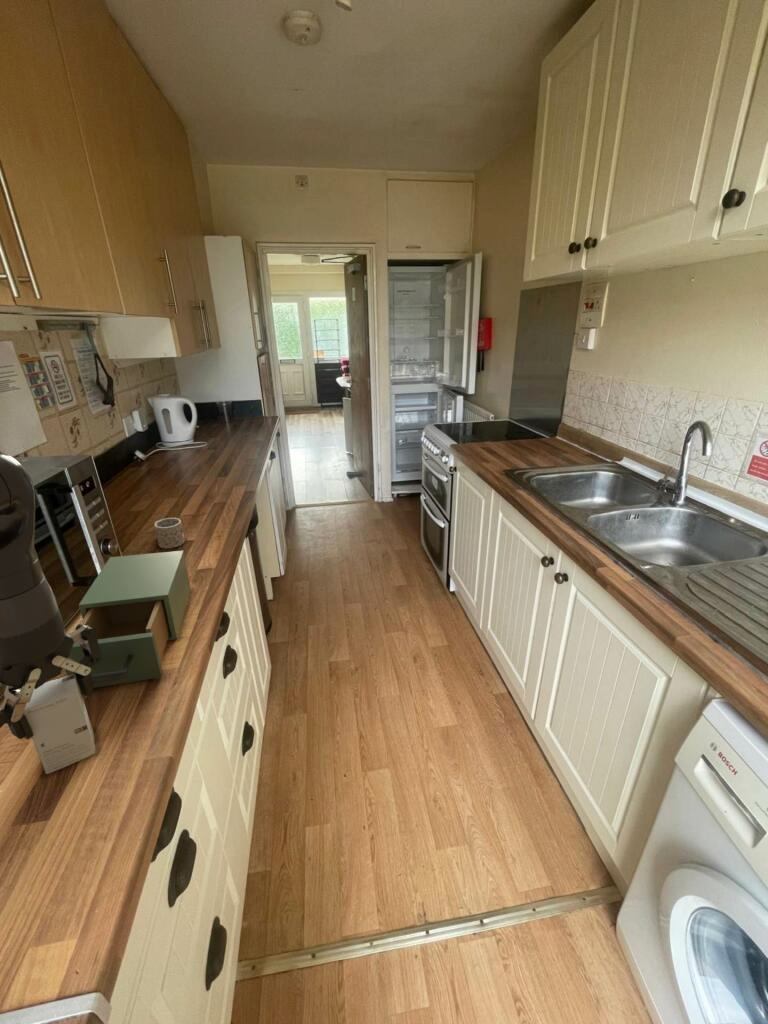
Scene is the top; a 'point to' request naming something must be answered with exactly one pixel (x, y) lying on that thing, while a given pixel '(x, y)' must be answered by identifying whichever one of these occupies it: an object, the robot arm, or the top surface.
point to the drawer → (127, 641)
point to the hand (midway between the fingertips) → (57, 713)
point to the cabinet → (143, 584)
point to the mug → (169, 532)
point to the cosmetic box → (60, 723)
